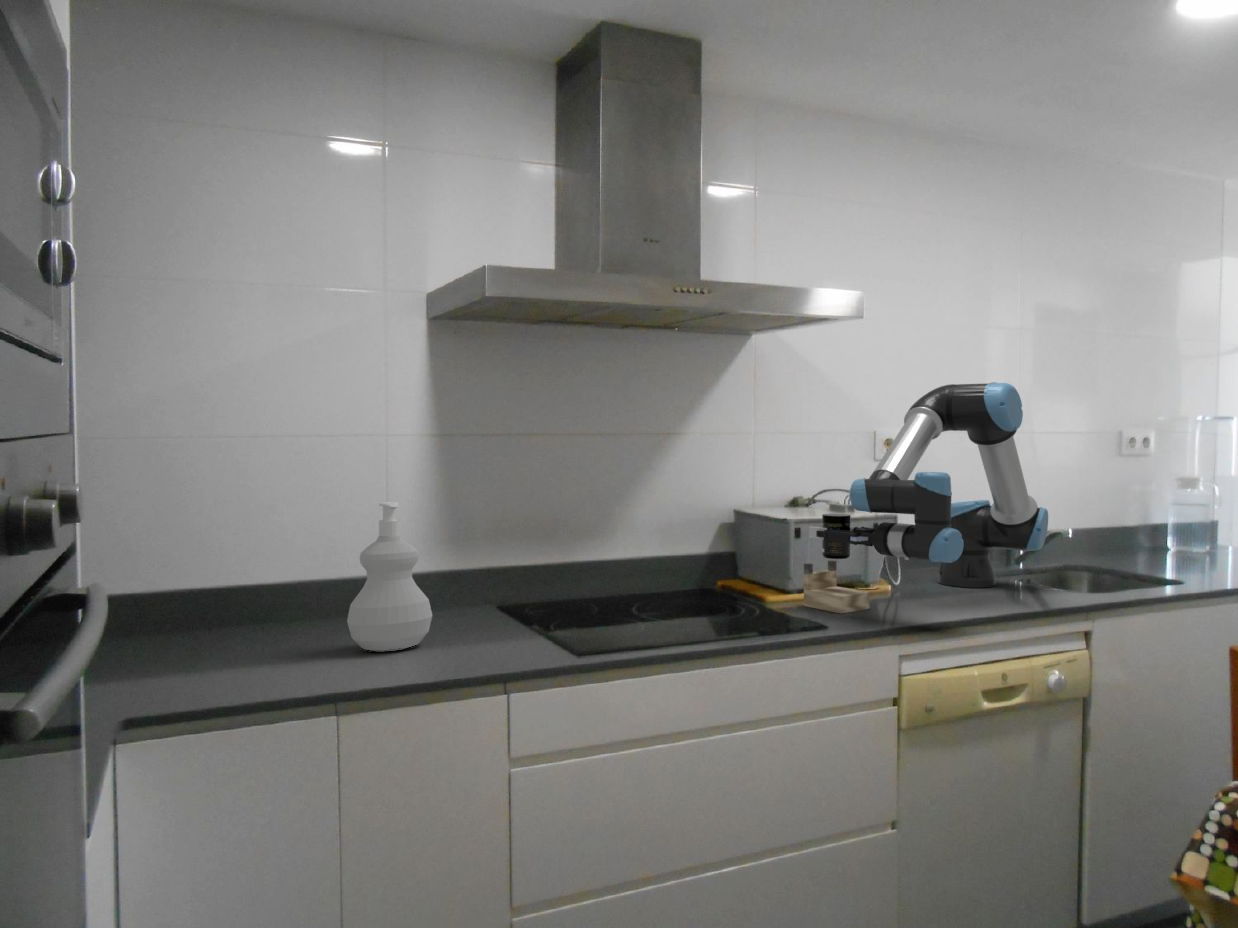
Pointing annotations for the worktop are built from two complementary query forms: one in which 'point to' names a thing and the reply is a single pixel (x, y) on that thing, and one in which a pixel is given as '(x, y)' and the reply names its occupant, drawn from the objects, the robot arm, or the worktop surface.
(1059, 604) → the worktop surface
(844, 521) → the supplement container
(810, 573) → the holder
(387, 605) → the soap bottle
